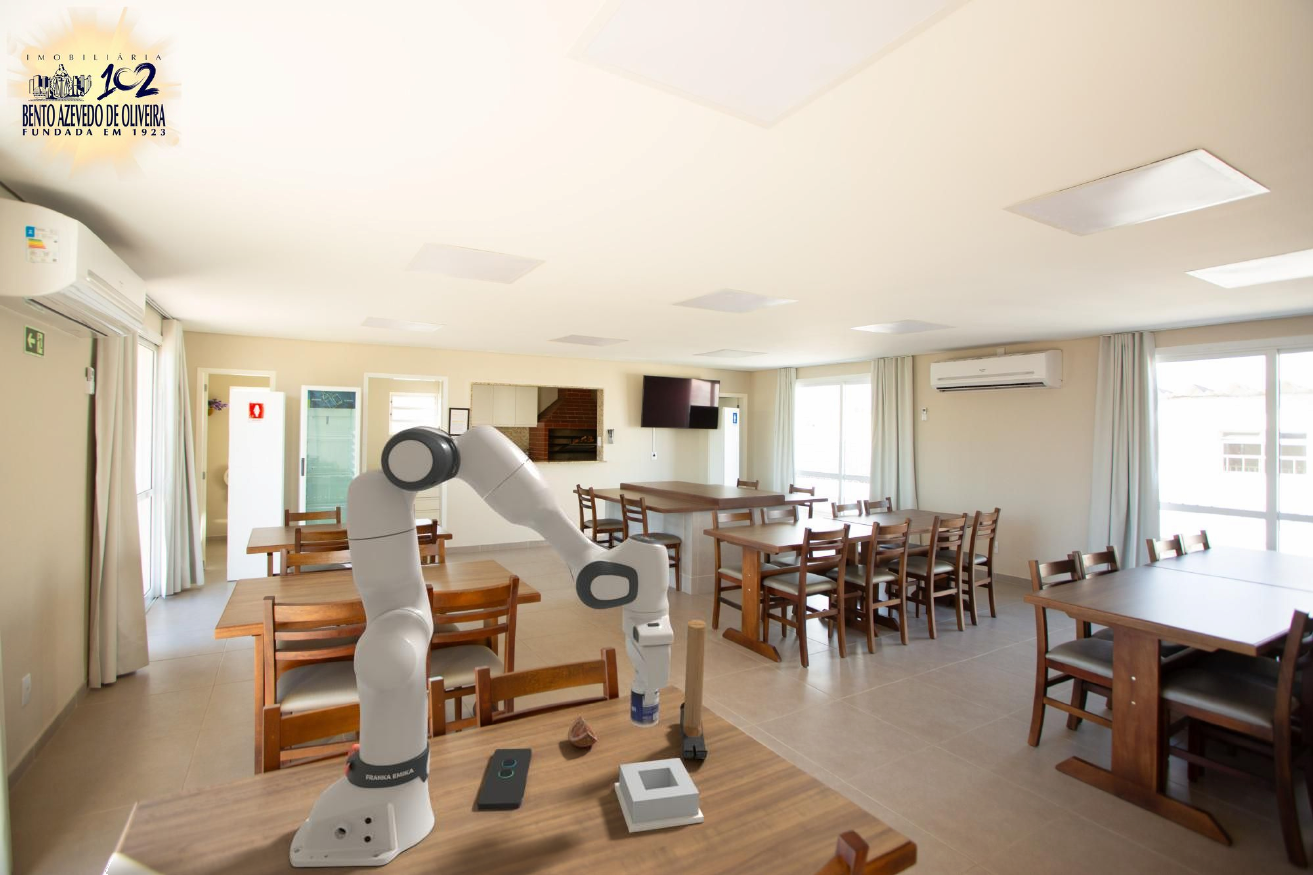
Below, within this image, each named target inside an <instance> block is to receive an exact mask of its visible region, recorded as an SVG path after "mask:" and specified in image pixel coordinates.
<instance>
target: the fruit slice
mask: <svg viewBox="0 0 1313 875" xmlns="http://www.w3.org/2000/svg"><path fill="white" fill-rule="evenodd" d="M567 739H568V741H569V742H570V743H571V744H572V745H574V746H577V747H579V748H586V747H590V746H592V745H595V743H597V742H598V737H597V735H596V733H595V732H594V731H593V729H592V727H591V725H589V723H588V722H587V721H586V720H585V719H584V717H582V716H579V717H578V718H577V719H576V720H574V722H573V723H572V725H571V726H570V727H569V730H568V732H567Z"/></svg>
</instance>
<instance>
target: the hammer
mask: <svg viewBox="0 0 1313 875" xmlns="http://www.w3.org/2000/svg"><path fill="white" fill-rule="evenodd" d="M706 632H707V623H706V622H705V621H704V620H702V619H692V620H689V621H688V622H687V635H686V636H687V637H686V638H687V639H686V656H685V658H686V659H685V660H686V661H685V680H684V681H685V682H684V701H683V702H682V703H681V705H680V708H679V711H680V714H679V715H680V716H679V717H680V718H679V728H680V740H681V748H682V756H683V759H694V758H695V759H701V760H702V759H707V755H708V750H706V744H705V736H704V730H703V729H704V727H703V721H702V720H703V719H702V716H703V701H704V700H703V698H704V697H703V694H704V677H705V676H704V675H705V656H706V655H705V654H706V653H705V652H706V636H707V633H706Z"/></svg>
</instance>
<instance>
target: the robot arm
mask: <svg viewBox="0 0 1313 875" xmlns="http://www.w3.org/2000/svg"><path fill="white" fill-rule="evenodd" d="M380 466H381V468H377V469H373V470H368V471H365V472H362V473H361V474H359V475H357V476H356V477H354V478H353V479H351V481H350V483H349V485H348V487H347V493H346V494H347V495H346V509H345V511H346V513H345V514H346V515H345V516H346V517H345V518H346V519H345V520H346V532H347V540H348V548H349V556H350V564H351V571H352V578H353V583H354V584H353V585H354V586H355V588H357V591H358V593H359V596H360V600H361V602H362V606H363V610H364V612H365V618H366V627H365V630H364V632H363V633H362V634H361V636H360V637H359V639H358V640H357V643H356V646H355V650H354V655H353V656H354V657H353V670H354V671H353V672H354V673H355V679H356V688H357V695H358V700H359V702H358V703H359V710H360V711H359V713H360V714H359V717H360V718H359V719H360V720H359V743H354V744H352V745H351V747H350V748H349V751H348V753H347V759H346V762H345V763H346V764H345V768H344V769H345V771H344V772H345V773H344V775H343V776H342V777H340V778H339V779H338V780H336V781H335V782H333V783H332V784H331V785H329V786H328V787H327V788H325V789H324V791H322V792H321V794H320V795H319V796H318V798H317V799H316V801H315V803H314V804H313V807H312V808H311V811H310V813H309V816H308V817H307V819H306V820H304V822H303V823H302V824H301V825H300V827H299V828H298V829H297V831H296V833H295V835H294V837H293V838H292V842H291V844H290V848H289V861H290V863H291V865H292V867H295V868H304V867H305V868H306V867H307V868H308V867H309V868H310V867H314V868H315V867H317V868H318V867H356V866H357V867H359V866H361V867H365V866H368V867H369V866H371V867H372V866H383V865H386V864H388V863H390V862H391V861H392V860H393V859H395V857H397V856H398V855H399V854H400V853H402V852H404V851H405V850H409V848H412V847H414V846H415V845H417V844H418V843H420V842H421V841H422V840H423V839H425V838H426V836H428V834H430V832H431V831H432V830H433V827H434V824H435V814H434V812H433V809H432V808H433V807H432V805H431V798H430V793H429V783H428V778H429V774H430V767H431V766H430V765H431V750H430V742H429V741H428V721H429V719H428V717H429V699H428V690H427V688H428V687H427V686H428V685H427V655H428V650H429V646H430V642H431V640H432V636H433V633H434V622H433V614H432V610H431V603H430V599H429V596H428V595H429V594H428V590H427V585H426V582H425V578H424V574H423V568H422V563H421V562H422V560H421V555H420V546H419V545H420V544H419V539H418V538H419V537H418V530H417V524H416V516H415V499H416V497H417V494H418V493H419V492H422V491H426V490H430V489H432V488H434V487H435V488H436V487H438V486H439V485H441V484H443V483H445V482H447V481H450V480H452V479H459V480H462V481H463V482H464V483H466V484H467V485H468V486H470V487H471V488H472V489H473V491H475V492H476V494H477V495H478V496H479V497H480V498H481V499H483V501H484V502H485V503H486V504H487V505H488V507H489V508H491V509H492V510H493V511H494V512H495V513H496V514H498V515H499V516H500V517H502V518H503V519H505V520H506V521H507V522H509V523H510V524H512V525H517V526H523V527H527V528H528V529H532V530H533V531H535V532H536V533H538V535H540V536H541V537H542V538H544V540H545V541H546V543H548V544H549V545H550V547H552V548H553V550H555V551H556V552H557V553H558V554H559V555H560V556H561V558H563V559H564V561H565V562H566V564H567V566H568V569H569V571H570V574H571V578H572V581H573V582H574V587H575V590H576V593H577V597H578V598H579V600H580V601H581V602H582V604H584V605H585V606H587V607H588V608H591V609H593V610H607V609H613V608H618V607H622V632H623V633H624V634H625V652H626V654H627V656H628V658H629V659H630V661H631V663H632V664H633V670H634V672H635V670H636V669H637V671H638V673H639V674H640V676H641V678H642V679H643V681H644V684H645V691H644V700H645V702H646V703H653V702H654V700H655V691H656V689H659V690H663V689H667V686H668V684H669V682H670V672H671V671H670V670H671V669H670V668H671V655H672V654H671V645H670V644H673V643H674V631H673V629H672V625H671V622H670V614H669V613H670V603H669V599H668V590H669V585H670V563H669V562H670V561H669V554H668V549H667V547H666V545H665V544H664V543H663V542H662V541H660V540H659V539H657V538H654V537H650V536H646V535H630V536H628V537H627V539H625V540H624V541H622V542H621V543H620V544H618V545H617V546H615V547H612V548H609V547H608V546H605V545H603V544H600V543H599V542H596V541H594V540H592V539H590V538H589V537H588V536H587V535H586V534H585V533H584V532H583V531H582V530H581V528H579V526H577V524H575V522H573V521H572V519H571V518H570V517H569V516H568V515H567V514H566V513H565V512H564V510H563V509H562V507H560V504H559V503H558V501H557V499H556V497H555V494H554V493H553V489H552V488H551V486H550V485H549V483H548V480H546V478H545V476H544V475H543V473H542V472H541V471H540V469H539V468H538V467H537V466H536V465H535V463H534V462H533V461H532V459H530V458H529V456H528V455H527V454H526V453H525V452H524V451H523V450H522V449H521V448H520V447H518V445H517V444H516V443H514V442H513V441H512V440H511V439H509V438H508V437H507V436H506V435H504V433H502V432H501V431H500V430H498V429H497V428H496V427H494V426H492V425H489V424H479V425H475V426H473V427H471V428H469V429H467V430H465V431H464V432H462V433H461V434H460V435H459V436H456V437H452V435H450V434H449V433H448V432H446V431H445V430H443V429H440V428H438V427H432V426H425V425H419V426H414V427H411V428H406V429H403V430H400V431H399V432H396V433H395V434H394V435H392V436H391V438H389V439H388V441H387V442H386V443H385V445H384V447H383V449H382V452H381V455H380Z"/></svg>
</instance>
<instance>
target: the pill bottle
mask: <svg viewBox="0 0 1313 875" xmlns="http://www.w3.org/2000/svg"><path fill="white" fill-rule="evenodd" d="M644 691H645V684H644V681H643V679H642V678H641V676H640V674H639V673H638V671H637V669H636V670H635V671H634V680H633V681H632V682H631V684H630V705H629V706H630V714H629V715H630V719H629V720H630V723H631V724H632V725H634V726H635V727H638V728H644V729H645V728H650V727H654V726H655V725H657V724H658V722H659V716H660V715H659V714H660V713H659V712H660V711H659V710H660V709H659V707H660V704H659V703H660V701H659V700H660V689H656V691H655V700H654V702H653V703H646V702H645V700H644Z"/></svg>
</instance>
